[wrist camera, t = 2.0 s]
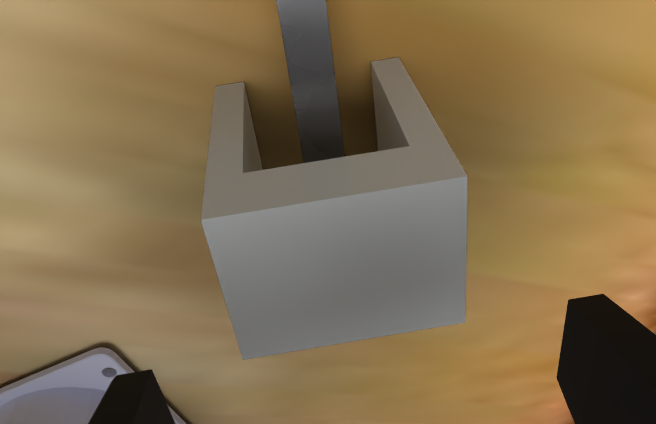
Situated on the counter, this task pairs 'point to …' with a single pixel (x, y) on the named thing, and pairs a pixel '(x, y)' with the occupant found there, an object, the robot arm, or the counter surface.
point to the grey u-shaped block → (337, 228)
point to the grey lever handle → (312, 77)
